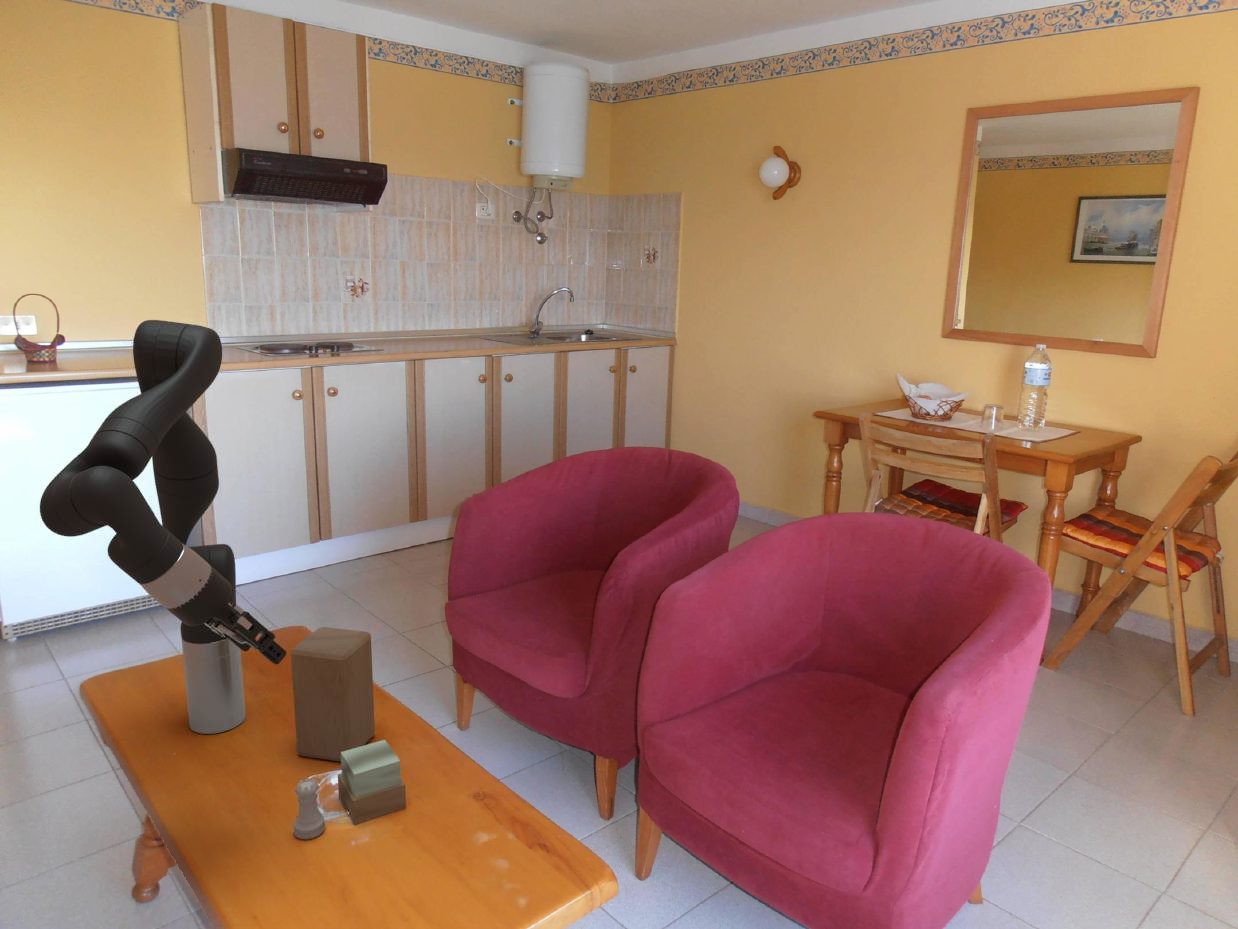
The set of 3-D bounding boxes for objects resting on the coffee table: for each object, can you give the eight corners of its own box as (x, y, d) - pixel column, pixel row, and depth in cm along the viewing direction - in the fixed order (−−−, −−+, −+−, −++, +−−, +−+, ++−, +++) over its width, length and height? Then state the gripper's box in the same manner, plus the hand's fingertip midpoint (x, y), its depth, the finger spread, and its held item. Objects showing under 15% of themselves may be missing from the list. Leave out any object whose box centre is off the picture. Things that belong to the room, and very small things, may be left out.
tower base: (338, 797, 135) (336, 751, 133) (388, 781, 140) (387, 737, 138) (354, 825, 129) (352, 777, 127) (406, 807, 133) (404, 761, 131)
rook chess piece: (298, 822, 129) (295, 774, 127) (328, 821, 129) (326, 773, 128) (289, 841, 125) (286, 792, 123) (321, 840, 125) (318, 791, 123)
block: (349, 765, 144) (343, 655, 139) (295, 757, 146) (287, 648, 141) (377, 734, 153) (373, 630, 149) (326, 727, 155) (320, 624, 151)
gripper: (231, 570, 111) (310, 641, 121) (181, 554, 120) (257, 621, 130) (189, 617, 107) (273, 686, 117) (140, 597, 116) (222, 663, 126)
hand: (265, 652), depth 123 cm, fingers open, 8 cm apart
